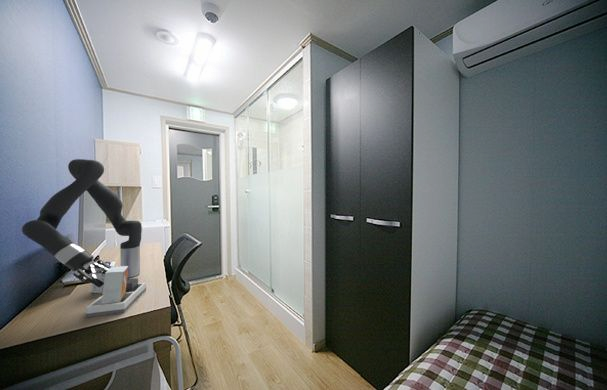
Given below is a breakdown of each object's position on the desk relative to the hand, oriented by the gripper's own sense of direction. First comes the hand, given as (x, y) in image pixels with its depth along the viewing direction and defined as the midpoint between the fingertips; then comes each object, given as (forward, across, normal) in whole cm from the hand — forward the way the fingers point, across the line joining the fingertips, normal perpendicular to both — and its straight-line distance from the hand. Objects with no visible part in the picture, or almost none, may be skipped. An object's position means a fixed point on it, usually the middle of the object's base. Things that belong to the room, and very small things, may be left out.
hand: (108, 281), depth 92 cm
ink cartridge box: (+1, +20, +16) cm, 26 cm away
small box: (+7, 0, +4) cm, 8 cm away
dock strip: (+10, +5, +7) cm, 13 cm away
